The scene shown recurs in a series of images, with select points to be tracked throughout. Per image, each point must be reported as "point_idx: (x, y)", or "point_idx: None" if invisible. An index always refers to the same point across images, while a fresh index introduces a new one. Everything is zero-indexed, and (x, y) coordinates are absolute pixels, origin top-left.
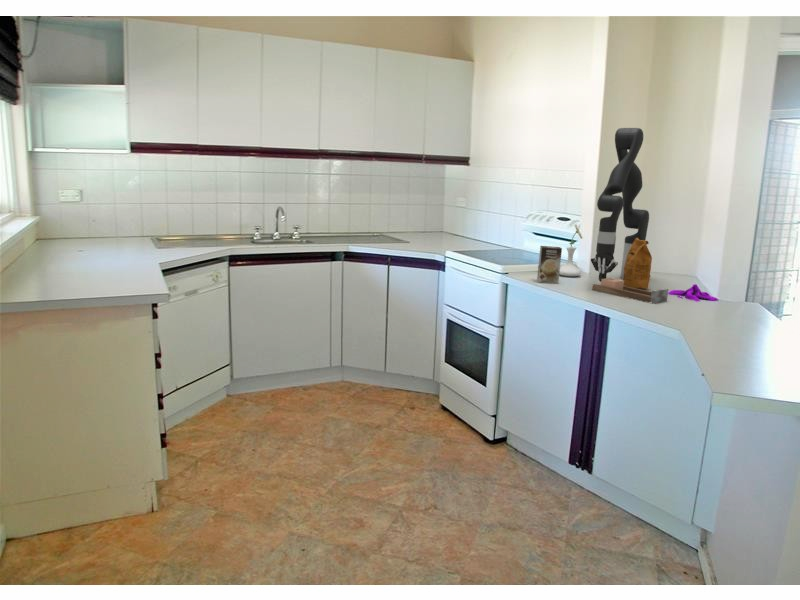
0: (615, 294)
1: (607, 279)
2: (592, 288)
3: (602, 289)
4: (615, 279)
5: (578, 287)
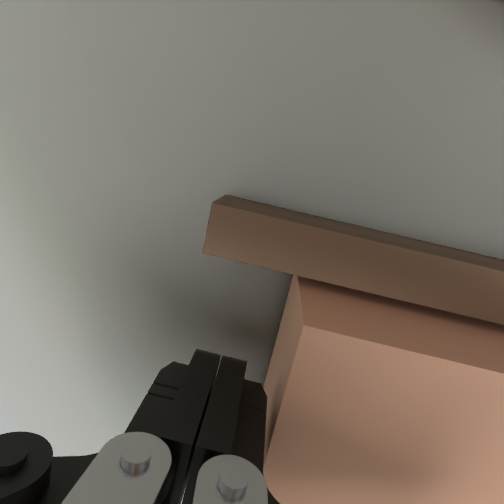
0: None
1: (331, 502)
2: None
3: None
4: (443, 407)
5: (24, 402)
